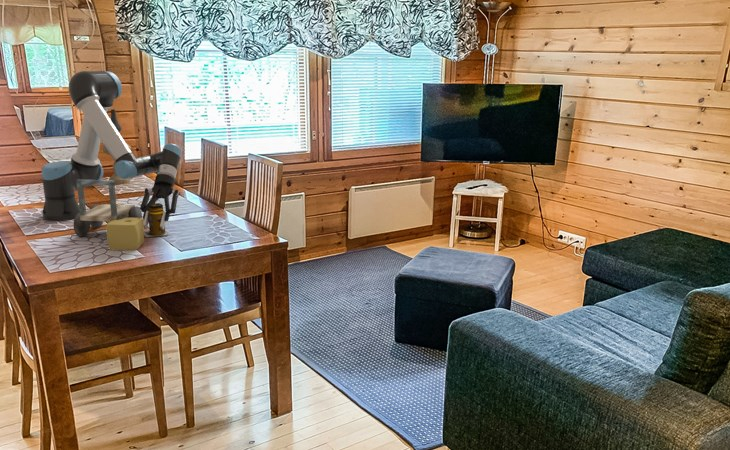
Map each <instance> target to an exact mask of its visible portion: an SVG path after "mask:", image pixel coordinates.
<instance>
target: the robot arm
mask: <svg viewBox="0 0 730 450" xmlns="http://www.w3.org/2000/svg"><path fill="white" fill-rule="evenodd" d="M122 92H123V86H122V82H121V81H120V79H119V77H118V76H117V75H116V74H115V72H112V71H108V70H97V71H96V70H95V71H94V70H91V71H90V70H89V71H88V70H81V71H78V72H76V73H73V74H72V77H70V79H69V82H68V93H69V96H70V97H69V98H70V99H71V101H72V103H73V104H74V106H75V107H76V109H77V110H80V111H81V112H82V113H83V118H82V123H81V128H80V132H79V133H80V134H79V138H78V142H77V143H78V144H77V149H76V151H75V153H73V154H72V155H71V158H70V161H67V160H58V161H52V162H48V163H46V164H44V165H43V166H42V167H41V179H42V186H43V194H44V203H43V207H42V208H43V209H42V212H41V215H42V219H43V220H46V221H53V222H56V221H68V220H69V221H70V220H74V219H75V216H76V215H77V214H78V213H80V208H79V202H78V200H77V198H76V194H75V193H76V192H75V190H77V181H76V180H78V179H85V180H103V176H104V168H103V165H102V164H101V160H100V159H99V157H98V156H99V152H100V147H101V142H102V144H103V145H105V147H106V148H107V150H108V151H109V153H110V154H111V155H110V156H111V157H112V158H113V161H114V162H116V165H115V171H116V174H117V176H118V177H120V178H122V179H129V178H130V179H133V178H137V177H139V176H144V175H149V174H153V173H156V175H155V179H154V183H153V186H152V187H151V188H149V189H148V188H144V195H143V198H142V201H141V203H140V207H139V208H140V209H141V212H142V220H143V229H146V230H147V229H148V227H149V217H148V212H149V205H150V204H153V203H157V201H158V200H159V199H163V200H164V209H165V210H164V212H163V216H162V220H161V224H160V227H161V229H164V227H165V228H166V222H168V221H169V219H170V215H172V214H175V213H176V210H177V209H176V208H177V204H178V197H179V196H180V192H179V189H174V186H175V182H176V177H177V172H178V169H179V165H180V162H181V161H180V160H181V158H182V149H181V148H180V146H178V144H175V143H166V144H165V145H164V146H163V148H162V151H158V152H155V153H151V154H146V155H143V156H139V157H136V156H135V155H134V153H133V152H132V150H130V148H129V147H128V145H129V144H128V143H127V142H126V141H125V139H124V138H122V137H123V136H122V135H121V133H120V132H118V130H117V129H116V127H115V125H114V124H113V122H112V121H111V117H109V115H108V110H109V109H111V108H113V105H114V101H115V100H117V99H118V98H120V96H121V95H122ZM126 143H127V144H128V145H127V144H126ZM83 187H84V188H88V187H93V185H84V184H83ZM171 195H172V196H171ZM150 196H151V198H150ZM170 196H171V197H172V199H171V204H170V198H169V197H170Z"/></svg>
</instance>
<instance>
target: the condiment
mask: <svg viewBox="0 0 730 450" xmlns="http://www.w3.org/2000/svg"><path fill="white" fill-rule="evenodd" d="M163 212H165V210H164V205H163V204H162V203H159V202H156V203H153V204H150V205H149V212H148V217H149V223H148V227H149V230H147V231H144V237H145V238H151V237H161V236H167V235H169V233H168V232H166V226H165V227H164V229H161V227H160V224H161V220H162V216H163Z"/></svg>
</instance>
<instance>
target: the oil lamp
mask: <svg viewBox="0 0 730 450" xmlns="http://www.w3.org/2000/svg"><path fill="white" fill-rule="evenodd" d="M116 113H117V111H116V109H110V119H111V121H112V122H113V124H114V125H115V127H116V129H117V130H118V132H119V133H120V132H121V131H122V126H121V124H120V123H119V121H118V118H117V114H116ZM123 137H124V136H122V138H123ZM123 139H124V138H123ZM126 144H127V145H128V147H129V148H130V150H131V149H132V147H131V145H130V144H129V143H127V142H126ZM101 150H102V152H104V154H107V155H109V156H111V154H110V153H109V151H108V150H107V148H106V147H105V145H104V144H103V145H102V146H101ZM131 151H132V150H131ZM115 165H116V162H115V161H114V162H113V164H112V168H113V174H112V175H111V176H110V177H109V178H108V180H114V185H126V184H130V183H131V178H129V179H122V178H120V177H118V176H117V174H116V171H115Z"/></svg>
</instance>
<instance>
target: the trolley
mask: <svg viewBox="0 0 730 450" xmlns="http://www.w3.org/2000/svg"><path fill="white" fill-rule="evenodd" d="M76 181H77V189H76V190H77V198H78V205H79V208H80V213H78V214H77V215H76V216H75V218H74V219H73V231H74V233H75V235H76V236H78V237H86V236H88V234H89V232H90V229H91V227H92V228H101V227H102V226H103V224H104V222H111V221H113V220H120V219H123V218H142V219H143V212H142V211H141V209H140V207H139V206H135V204H133V205H132V204H117V199H116V198H117V197H116V189H115V188H116V186H115V185H116V184H114V180H109V179H101V180H85V179H78V180H76ZM83 184H84V185H92V186H108V194H109V204H106V203H101V204H99V205H92V206H91V207H90V209H89V210H87V206H86V199H85V197H86V196H85V190H84V189H85V187H83Z"/></svg>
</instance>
